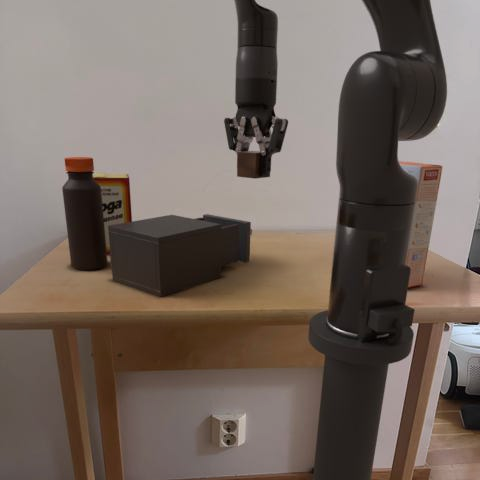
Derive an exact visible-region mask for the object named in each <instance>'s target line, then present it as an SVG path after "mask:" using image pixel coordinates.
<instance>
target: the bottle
mask: <svg viewBox="0 0 480 480" xmlns="http://www.w3.org/2000/svg"><path fill="white" fill-rule="evenodd" d="M94 164H95V163H94V158H93V157H88V156H70V157H65V158H64V167H65V172H66V174H67V178H68V179H67V180H66V182H65V183H64V184H63V186H62V188H61V189H62V198H63V208H64V215H65V216H64V217H65V223H66V231H67V233H66V234H67V241H68V249H69V259H70V266H71V267H72V268H73V269H75V270H78V271H94V270H99V269H100V270H101V269H103V268H105V267H106V266H108V254H107V251H106V240H105V228H104V217H103V205H102V194H101V187H100V185H99V184H98V183H97V182H96V181H95V180H94V179H93V174H94V173H95V165H94Z"/></svg>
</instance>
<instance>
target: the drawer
mask: <svg viewBox="0 0 480 480" xmlns="http://www.w3.org/2000/svg"><path fill="white" fill-rule="evenodd" d="M195 219H197V220H202V221H207V222H212V223H217V224H221V268H223V267H226V266H229V265H232V264H236V263H239V262H241V263H244V264H246V263H250V261H251V260H250V259H251V258H250V257H251V236H252V234H253V229H252V227H251V226H252V222H251V221H247V220H243V219H236V218H230V217H225V216H220V215H214V214H209V213H205V214H202V217H196V218H195Z"/></svg>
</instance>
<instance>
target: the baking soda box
mask: <svg viewBox="0 0 480 480" xmlns="http://www.w3.org/2000/svg"><path fill="white" fill-rule="evenodd" d="M93 179H94V180H95V181H96V182H97V183H98V184H99V185H100V187H101V194H102V205H103V217H104V228H105V240H106V251H107V255H110V243H109V231H108V226H109V225H115V224H121V223H127V222H133V216H132V200H131V183H130V182H131V181H130V176H129V173H106V172H96V173H95V172H94V173H93Z"/></svg>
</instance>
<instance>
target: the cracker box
mask: <svg viewBox="0 0 480 480" xmlns="http://www.w3.org/2000/svg"><path fill="white" fill-rule="evenodd" d="M398 161H399V164H400V166H401V167H402V168H403V170H405V171H406V172H407V173H409V174H411V175H413V176H414V177H415V178H416V179H417V181H418V191H417V197H416V202H415V209H414V216H413V222H412V227H411V234H410V240H409V247H408V253H407V259H406V265H407V266H409V267H410V268H411V272H410V278H409V285H408V289H409V288H413V287H418V286H422V285H423V282H424V276H425V270H426V265H427V259H428V254H429V248H430V243H431V236H432V230H433V226H434V225H433V224H434V219H435V213H436V206H437V201H438V195H439V190H440V185H441V178H442V172H443V165H441V164H431V163H420V162H412V161H401V160H398Z"/></svg>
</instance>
